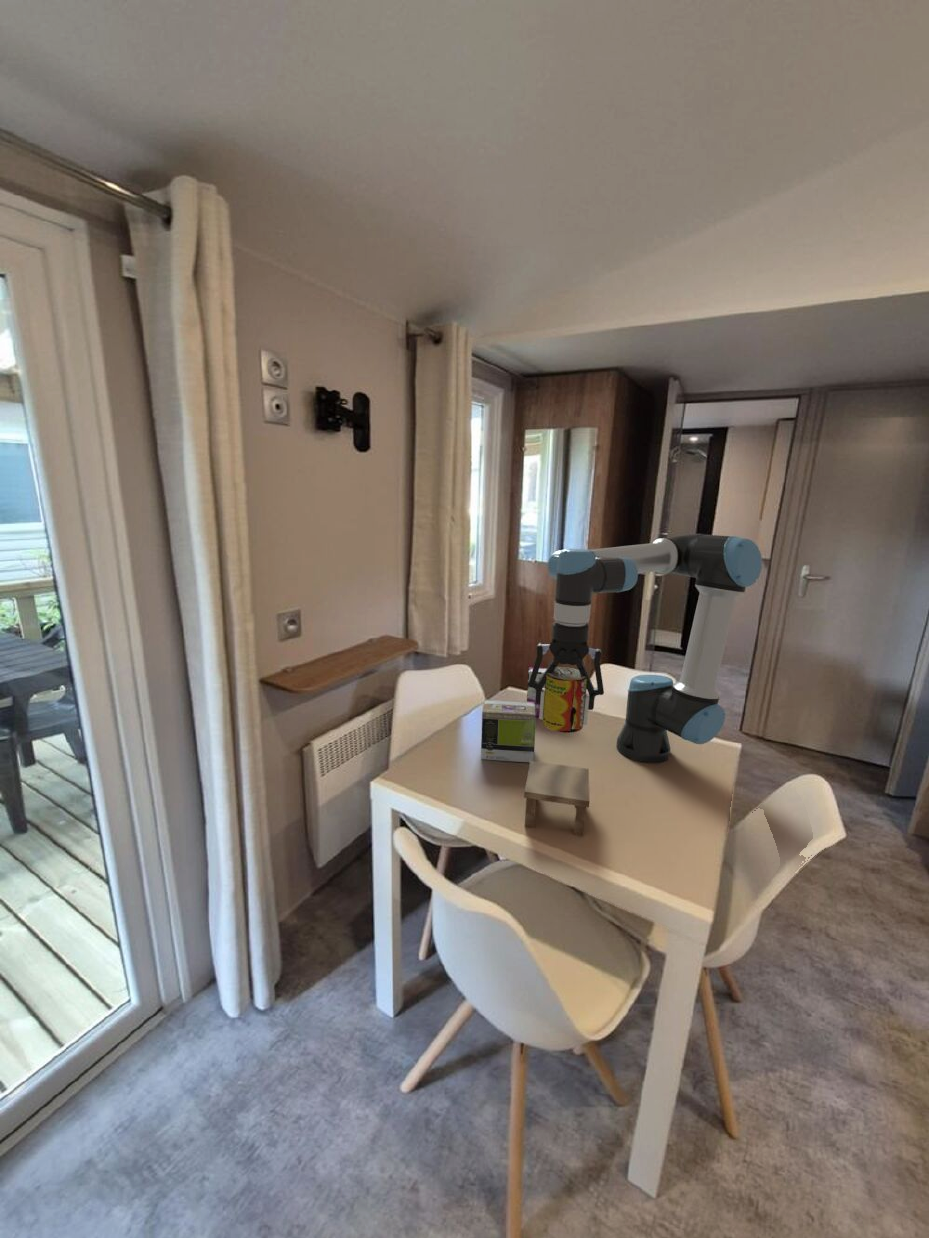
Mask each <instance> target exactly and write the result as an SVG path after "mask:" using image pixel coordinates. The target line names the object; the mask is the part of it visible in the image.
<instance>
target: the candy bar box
mask: <svg viewBox="0 0 929 1238" xmlns="http://www.w3.org/2000/svg"><path fill="white" fill-rule="evenodd" d="M546 669H547V668H545V667H544V668H543V667H539V670H538V674H537V677H536V680H535V681H536V682H539V680H540V679H541V677H542V676H543V674H544V672H545V671H546ZM532 671H533V667H529V668H528V672H527V673H528V674H527V690H526V691H527V693H526V702H535V699H536V690H535V689H534V688H532V687H529V686H528V684H529V680H530V677H531V674H532ZM543 688H545V685H544V687H543ZM535 713H536V719H537V718H538V719H539V715H540V704H536V702H535Z"/></svg>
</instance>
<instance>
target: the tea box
mask: <svg viewBox="0 0 929 1238" xmlns="http://www.w3.org/2000/svg"><path fill="white" fill-rule="evenodd" d="M536 719H537V718H536V713H535V702H527V701H519V700H500V699H499V700H498V699H484V701H483V707H482V711H481V741H480V742H481V743H480V744H481V747H480V750H481V751H480V758H481V760H487V761H488V760H489V761H501V762H502V761H504V762H519V763H528V764H530V761H534V759H535V746H536V745H535V741H536V727H537V725H536V723H537V722H536Z"/></svg>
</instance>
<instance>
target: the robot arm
mask: <svg viewBox="0 0 929 1238" xmlns="http://www.w3.org/2000/svg"><path fill="white" fill-rule="evenodd" d="M762 565H763V559H762V553H761V550H760V548H759V546H758V545H757V543H756V542H755V541H753V540H751V539H749V538H745V537H739V536H736V535H733V536H729V535H716V534H714V535H713V534H704V533H691V534H689V533H688V534H682V535H676V536H669V537H662V538H657V539H655V540H653V542H652V543H641V544H632V545H623V546H622V545H621V546H615V547H613V546H612V547H603V548H593V549H584V548H583V549H581V548H563V549H560V550H557V551H554V552H553V553H552V554H551V555H550V557H549V559H548V561H547V571H548V574H549V576H550V577H551V578H552V579H554V580H555V582H556V583H555V598H554V605H553V606H554V607H553V608H554V609H553V620H554V622H553V623H552V634H551V636H552V637H551V641H550V643H549V644H548V643H547V644H546V643H544V644H543V643H542V642H539V643H538V644H537V646H536V658H535V661H534V664H533V667H532V668H533V671H532V674H531V677H530V680H529V684H528V683H527V687H528V686H529V687H532V688H534V689H535V690H536V699H535V702H536V704H540V715H539V718H538V719H539V720H542V721H543V708H544V695H545V688H543V687H544V685H545V683H546V675H547V673H553V671H554V670H555V668H556V667H558V665H559V664H560V665H569V666H576V668H577V669H578V670H579V672H580V674H581V676H584V677H587V683H586V688H587V689H586V691H587V692H586V698H585V709H584V720H583V726H587V725H588V717H589V716H588V714H589V711H593V710H594V708H595V707H594V706H595V699H596V696H603V695H604V694H605V692H604V691H605V689H604V685H603V684H604V683H603V677H602V669H601V657H602V650H601V648H599V647H597V648H592V647H589V644H588V639H589V629H590V626H589V624H588V623H589V622H590V616H591V609H592V608H591V607H592V598H593V594H604V593H606V594H607V593H621V592H625V591H629V590H631V589H633V588H634V587H635V586H636V584H637V582H638V579H639V578H638V577H639V576H638V575H639V574H647V573H652V572H653V573H654V572H655V573H658V574H660V575H666V574H672V575H673V574H674V575H680V576H685V577H690V578H695V583H694V586H695V588H696V590H697V591H698V592H699V595H698V600H697V603H696V608H695V612H694V616H693V621H692V626H691V630H690V635H689V639H688V643H687V648H686V653H685V657H684V661H683V665H682V671H681V674H680V679H679V680H678V681H676V682H675V683H674V680H673V679H672V678H671V677H668V676H665V675H657V674H640V675H636V676H634V677H632V678H631V680H630V682H629V686H628V689H627V691H628V692H627V701H626V711H625V712H626V713H625V721H624V722H625V723H623V727H622V729H621V730H620V733H619V734H618V737H617V739H616V746H615V747H616V749H617V751H618V752H619V753H620V754H622V755H623V756H625V757H626V758H629V759H631V760H634V761H638V762H643V763H650V764H653V763H654V764H655V763H658V764H659V763H663V762H665V761H668V760H669V759H670V757H671V746H670V739H669V736H668V732H670V733H672V734H674V735H676V736H678V737H680V738H681V739H682V740H685V741H689V742H691V743H693V744H695V745H704V744H706V743H709V742H711V741H712V740H713V739H714V738H715V737H716V736H717V735H718V734H719V733H720V731H721V730H722V728H723V725H724V724H725V719H726V712H725V709H724V708H723V707H722V706H721V705H720V704H719V702H720V697H721V696H720V693H719V692H718V691H717V690H716V685H717V681H718V676H719V673H720V668H721V666H722V665H721V664H722V659H723V656H724V651H725V648H726V643H727V639H728V635H729V630H730V626H731V623H732V617H733V613H734V609H735V606H736V601H737V599H738V598H739V597H741V596H743V595H744V594H745V592H746V588H747V587H751V586H753V585H754V584H755V583H756V582H757V580H758V579H759V577H760V575H761V571H762V567H763V566H762ZM548 651H550V652H551V654H552V656H553V657H552V660H551V661H550V663H549V665H548V667H547V668H546V671H545V672H544V674H543V676H542V677H541V679H540V680H539V682H536V681H535V680H536V677H537V674H538V670H539V668H541V665H542V661H543V657H544V655H546V654H547V653H548ZM588 654H589V656H590V659H592V660H593V665H594V666H593V668H594V672H595V679H596V686H597V687H594V685H593V683H592V680H591V678H590V675H589V673H588V671H587V669H586V666H585V664H584V660H583V659H584V658H585V657H586V656H587V655H588Z"/></svg>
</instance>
